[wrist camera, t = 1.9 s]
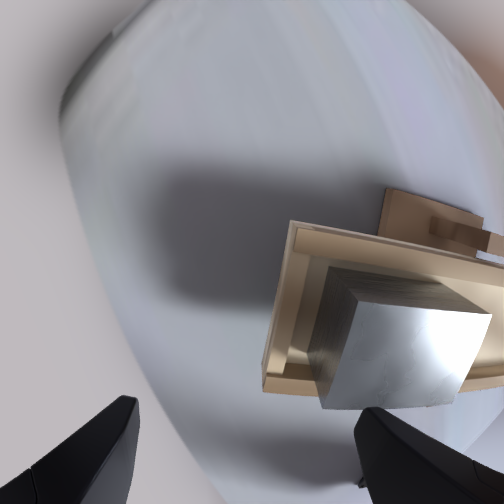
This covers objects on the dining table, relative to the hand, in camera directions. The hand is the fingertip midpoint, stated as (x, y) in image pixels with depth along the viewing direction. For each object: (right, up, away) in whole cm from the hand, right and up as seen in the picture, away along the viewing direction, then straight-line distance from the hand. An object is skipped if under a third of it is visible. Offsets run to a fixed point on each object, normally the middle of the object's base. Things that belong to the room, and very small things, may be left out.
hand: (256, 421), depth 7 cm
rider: (+7, +1, +8) cm, 10 cm away
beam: (+13, 0, +9) cm, 16 cm away
